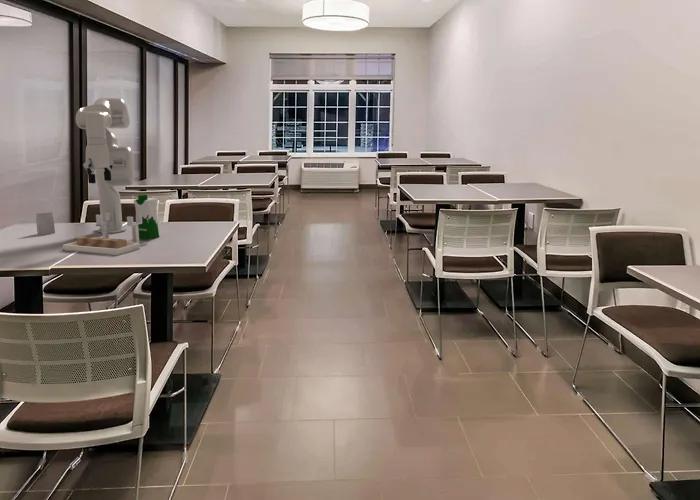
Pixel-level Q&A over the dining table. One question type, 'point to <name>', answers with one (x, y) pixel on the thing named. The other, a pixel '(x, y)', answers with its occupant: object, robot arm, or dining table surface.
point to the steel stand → (129, 223)
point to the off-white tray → (100, 250)
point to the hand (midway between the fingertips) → (100, 181)
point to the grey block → (45, 223)
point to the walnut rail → (101, 242)
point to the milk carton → (147, 217)
